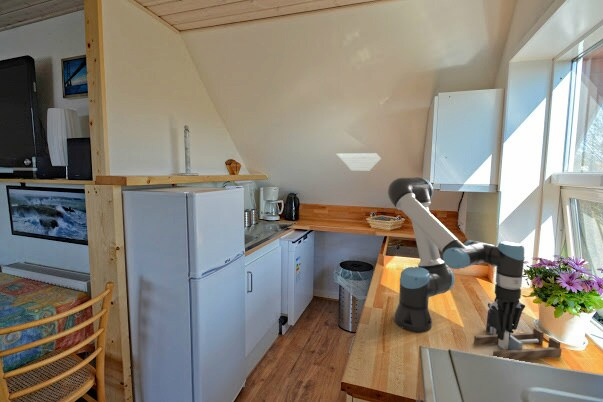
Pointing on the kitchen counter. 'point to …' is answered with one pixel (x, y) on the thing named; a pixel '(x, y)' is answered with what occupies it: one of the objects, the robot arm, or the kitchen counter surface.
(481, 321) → the kitchen counter surface
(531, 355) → the lane
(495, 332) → the pill bottle
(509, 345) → the pusher
